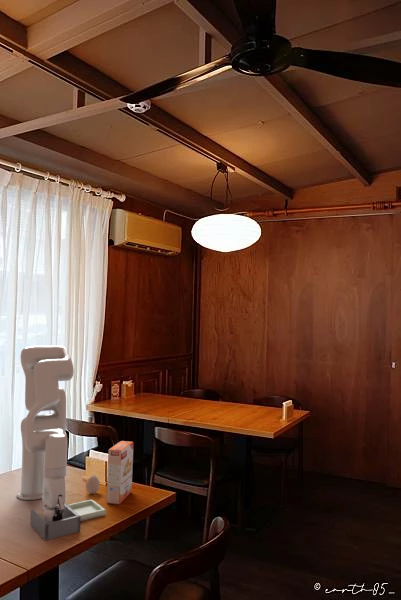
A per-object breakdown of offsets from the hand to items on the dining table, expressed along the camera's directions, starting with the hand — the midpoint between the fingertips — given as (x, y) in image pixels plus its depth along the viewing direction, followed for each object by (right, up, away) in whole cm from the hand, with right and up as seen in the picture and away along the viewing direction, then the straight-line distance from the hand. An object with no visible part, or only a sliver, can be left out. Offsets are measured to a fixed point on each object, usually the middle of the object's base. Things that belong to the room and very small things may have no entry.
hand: (53, 523), depth 169 cm
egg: (+7, -2, +31) cm, 32 cm away
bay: (+1, -1, -2) cm, 2 cm away
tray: (+8, -2, +11) cm, 14 cm away
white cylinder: (0, -1, 0) cm, 1 cm away
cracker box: (+18, -2, +27) cm, 33 cm away
